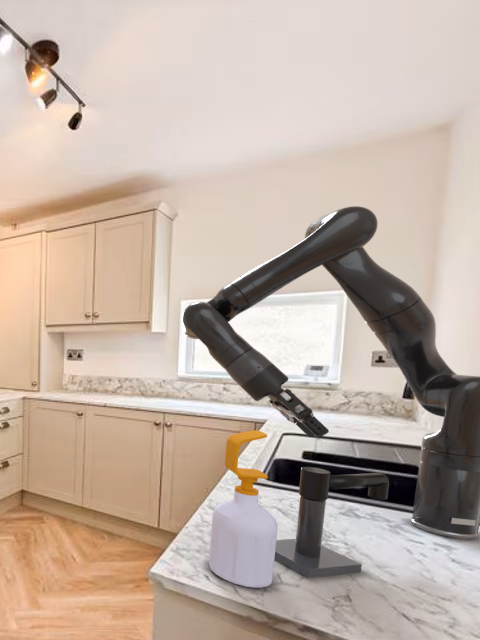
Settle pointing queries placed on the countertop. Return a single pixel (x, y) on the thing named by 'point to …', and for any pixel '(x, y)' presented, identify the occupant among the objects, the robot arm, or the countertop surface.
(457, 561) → the countertop surface
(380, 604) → the countertop surface
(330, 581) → the countertop surface
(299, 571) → the faucet base
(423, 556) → the countertop surface
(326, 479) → the spout
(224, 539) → the soap bottle
